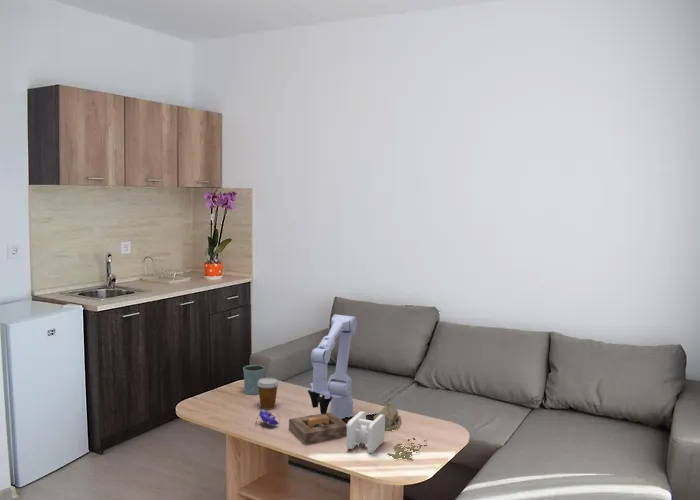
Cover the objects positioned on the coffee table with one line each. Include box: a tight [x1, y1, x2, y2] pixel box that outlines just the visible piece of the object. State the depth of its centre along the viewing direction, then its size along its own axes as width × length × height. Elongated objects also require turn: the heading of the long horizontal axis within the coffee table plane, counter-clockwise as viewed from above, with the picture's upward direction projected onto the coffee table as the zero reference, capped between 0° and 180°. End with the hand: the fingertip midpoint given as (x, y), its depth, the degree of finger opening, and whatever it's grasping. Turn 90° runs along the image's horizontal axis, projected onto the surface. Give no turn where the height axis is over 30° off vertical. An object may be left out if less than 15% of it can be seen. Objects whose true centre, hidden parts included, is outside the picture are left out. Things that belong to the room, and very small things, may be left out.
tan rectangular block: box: [308, 415, 329, 428], centre depth 247 cm, size 8×3×5 cm, turn 119°
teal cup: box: [242, 364, 266, 396], centre depth 293 cm, size 10×10×12 cm
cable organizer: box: [345, 411, 386, 454], centre depth 236 cm, size 15×11×12 cm
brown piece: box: [288, 411, 347, 446], centre depth 248 cm, size 19×16×4 cm
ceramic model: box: [372, 402, 402, 432], centre depth 257 cm, size 14×11×10 cm
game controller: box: [255, 406, 281, 429], centre depth 255 cm, size 10×8×10 cm
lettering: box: [387, 435, 421, 461], centre depth 236 cm, size 25×10×1 cm, turn 153°
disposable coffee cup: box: [257, 377, 279, 410], centre depth 275 cm, size 10×10×12 cm
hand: (319, 410), depth 247 cm, fingers open, 7 cm apart
